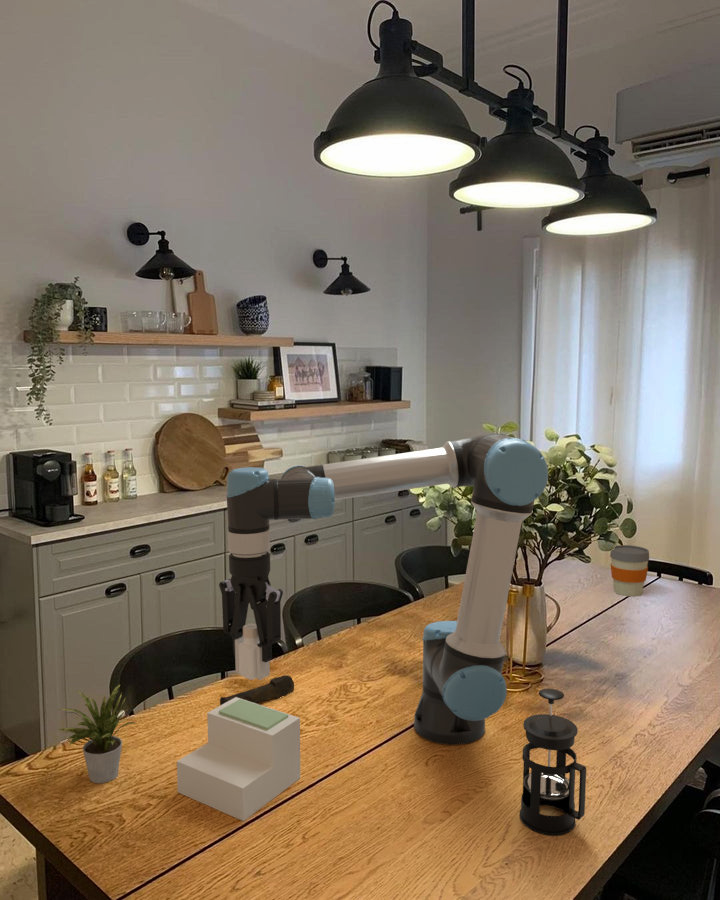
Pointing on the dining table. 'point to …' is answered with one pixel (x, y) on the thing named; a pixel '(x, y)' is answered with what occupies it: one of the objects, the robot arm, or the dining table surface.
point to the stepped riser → (242, 758)
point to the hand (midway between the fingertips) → (252, 673)
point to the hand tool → (265, 691)
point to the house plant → (100, 738)
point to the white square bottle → (248, 652)
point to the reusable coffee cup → (629, 569)
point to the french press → (551, 773)
